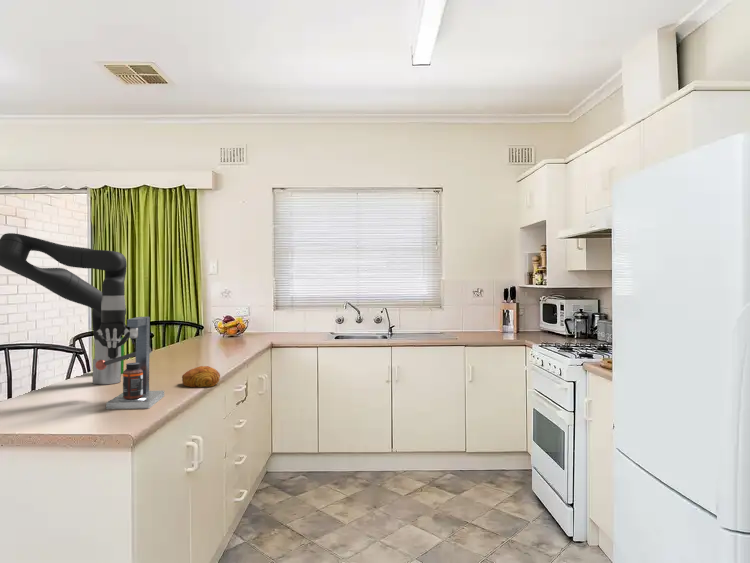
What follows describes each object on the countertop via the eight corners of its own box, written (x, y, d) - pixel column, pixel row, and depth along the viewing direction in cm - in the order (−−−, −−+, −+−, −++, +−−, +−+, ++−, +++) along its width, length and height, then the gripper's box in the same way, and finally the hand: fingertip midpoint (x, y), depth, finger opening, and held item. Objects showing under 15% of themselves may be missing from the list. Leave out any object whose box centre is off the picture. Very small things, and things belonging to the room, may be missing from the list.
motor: (129, 372, 236) (129, 326, 236) (113, 375, 228) (113, 328, 228) (111, 370, 240) (111, 326, 240) (94, 374, 231) (94, 327, 231)
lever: (95, 372, 185) (92, 362, 185) (99, 370, 188) (96, 360, 188) (150, 354, 187) (146, 344, 187) (153, 353, 191) (150, 343, 190)
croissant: (219, 385, 221) (220, 365, 222) (220, 387, 206) (221, 366, 207) (182, 386, 216) (182, 366, 217) (180, 388, 202) (181, 366, 203)
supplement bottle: (146, 397, 177) (147, 362, 177) (131, 400, 172) (132, 365, 172) (133, 395, 180) (134, 361, 180) (118, 398, 174) (118, 363, 174)
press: (106, 409, 170) (106, 320, 169) (125, 396, 187) (126, 316, 187) (149, 408, 171) (149, 320, 171) (164, 396, 189) (164, 316, 189)
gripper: (88, 309, 183) (88, 360, 183) (129, 309, 184) (129, 359, 184) (97, 308, 190) (97, 357, 190) (136, 308, 192) (136, 356, 192)
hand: (113, 358), depth 187 cm, fingers closed
